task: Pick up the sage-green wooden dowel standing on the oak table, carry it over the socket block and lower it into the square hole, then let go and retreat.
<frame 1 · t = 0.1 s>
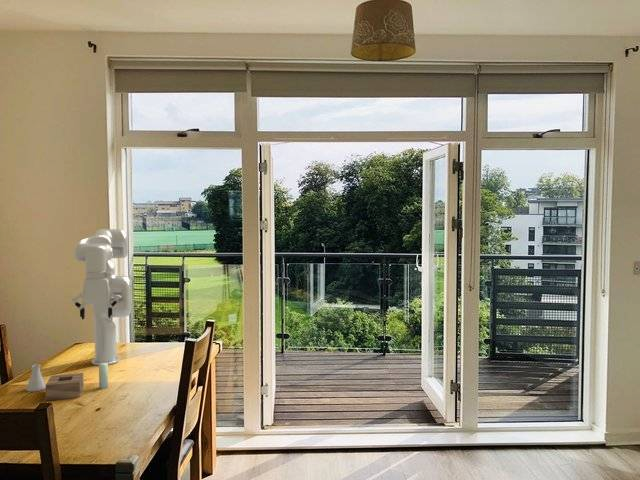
hand: (96, 318, 196), 31 cm above the table, tool pointing down, fingers open, 9 cm apart
flask: (36, 389, 201), on the table
peg: (103, 387, 204), on the table
socket block: (65, 393, 197), on the table
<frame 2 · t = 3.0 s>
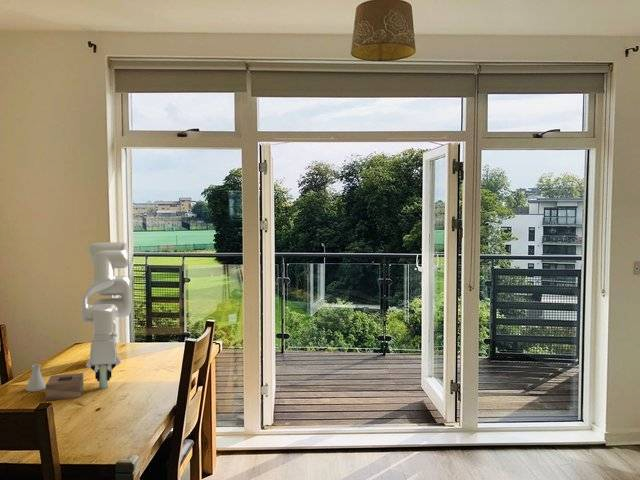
hand: (103, 379, 204), 3 cm above the table, tool pointing down, fingers closed on peg, 3 cm apart
peg: (103, 387, 204), on the table, touching gripper
everything else where it was.
when the fingers open (7 cm above the table, at t = 7.0 s): peg drops 2 cm, resting on socket block.
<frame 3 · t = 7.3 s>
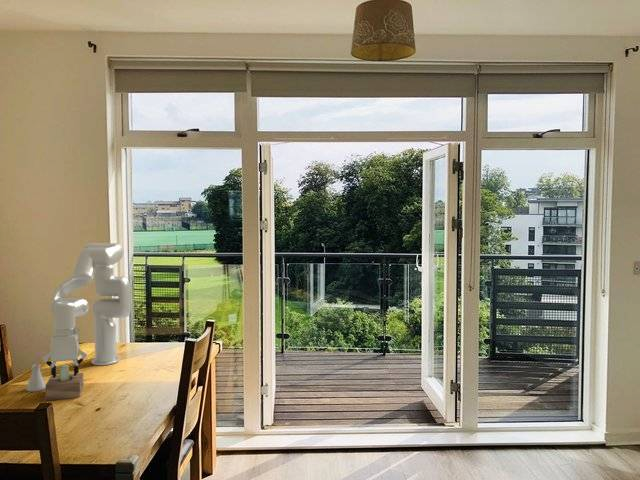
hand: (65, 375, 197), 7 cm above the table, tool pointing down, fingers open, 7 cm apart
peg: (65, 390, 197), point 1 cm above the table, touching socket block
everything else where it was.
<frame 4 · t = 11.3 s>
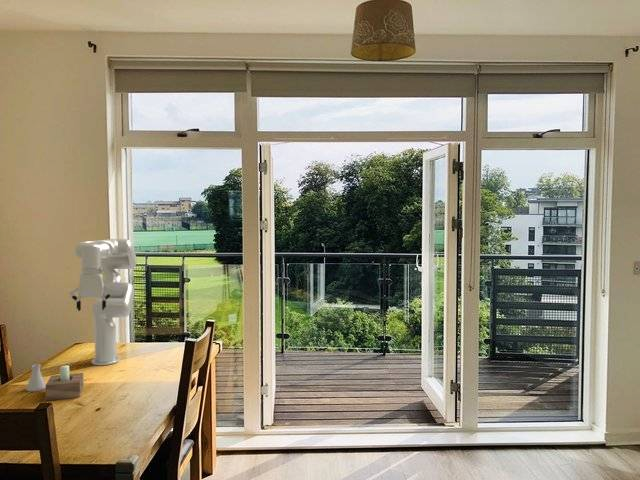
hand: (91, 309, 216), 30 cm above the table, tool pointing down, fingers open, 9 cm apart
nothing on the table moved.
at the end: peg 0.1 cm off-centre on the socket block, point 1.0 cm above the socket block's base; peg tilted 1°; the gripper is holding nothing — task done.
